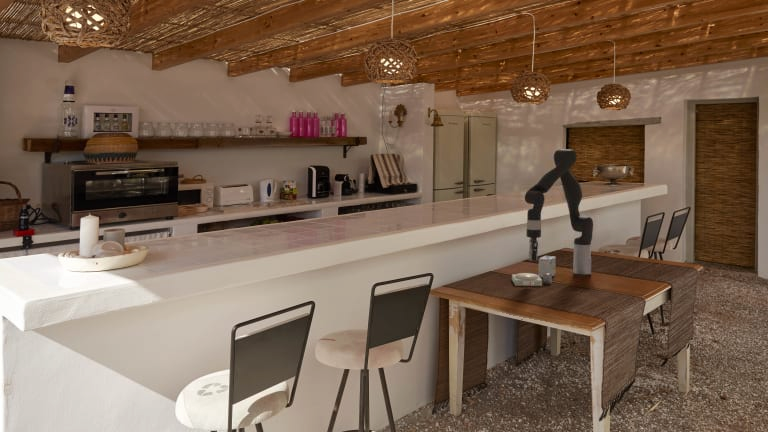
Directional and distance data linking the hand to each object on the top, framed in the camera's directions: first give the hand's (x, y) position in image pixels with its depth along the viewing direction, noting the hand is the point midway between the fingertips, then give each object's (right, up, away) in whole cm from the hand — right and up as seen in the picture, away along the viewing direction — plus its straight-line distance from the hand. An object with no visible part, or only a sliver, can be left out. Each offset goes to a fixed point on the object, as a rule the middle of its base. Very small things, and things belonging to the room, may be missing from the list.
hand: (533, 259), depth 318 cm
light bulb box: (+13, -11, +18) cm, 25 cm away
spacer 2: (+8, -13, +1) cm, 15 cm away
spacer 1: (0, 0, 0) cm, 0 cm away
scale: (-3, -13, +2) cm, 13 cm away
